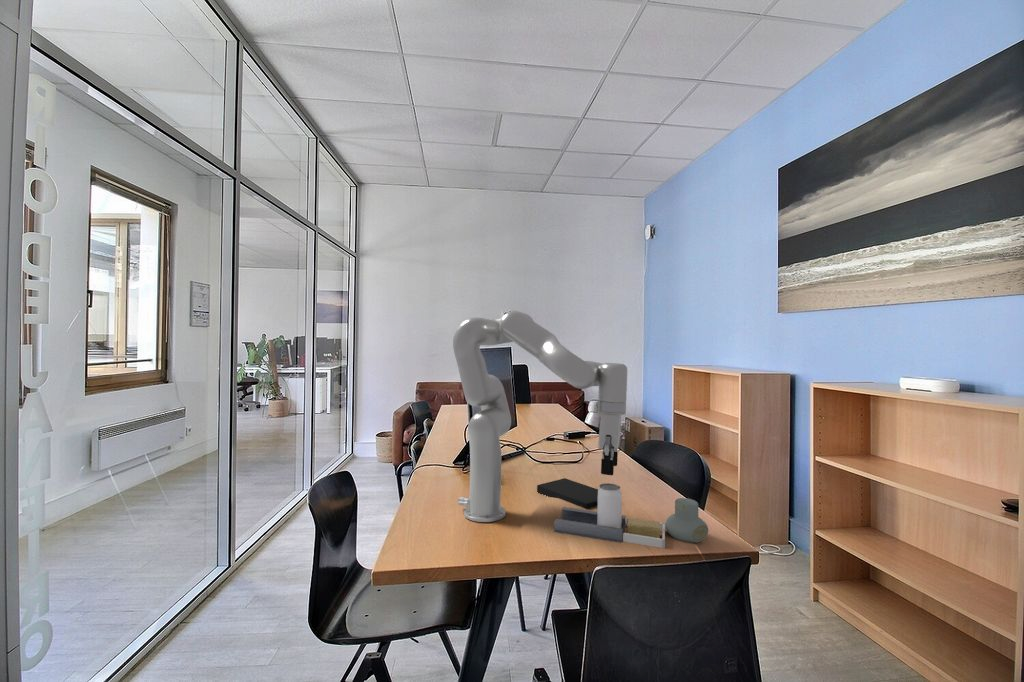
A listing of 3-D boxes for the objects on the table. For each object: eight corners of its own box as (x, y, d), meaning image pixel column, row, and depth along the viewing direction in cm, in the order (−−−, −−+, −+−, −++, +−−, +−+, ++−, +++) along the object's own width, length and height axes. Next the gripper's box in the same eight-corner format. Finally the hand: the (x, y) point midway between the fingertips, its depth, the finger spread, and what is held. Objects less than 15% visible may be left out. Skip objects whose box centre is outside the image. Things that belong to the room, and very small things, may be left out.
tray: (623, 545, 111) (623, 533, 111) (626, 528, 122) (626, 517, 122) (664, 552, 108) (664, 540, 108) (664, 534, 118) (664, 523, 118)
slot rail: (553, 535, 116) (553, 522, 116) (564, 517, 129) (564, 506, 129) (621, 546, 110) (621, 532, 110) (625, 527, 123) (625, 514, 123)
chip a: (627, 538, 114) (627, 523, 114) (628, 532, 118) (628, 517, 118) (643, 540, 113) (643, 525, 113) (643, 534, 117) (643, 519, 117)
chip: (643, 541, 113) (643, 525, 113) (643, 534, 117) (643, 520, 117) (659, 543, 112) (659, 527, 112) (659, 537, 115) (659, 522, 116)
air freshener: (685, 528, 122) (685, 493, 122) (712, 540, 115) (712, 502, 115) (660, 537, 116) (660, 500, 117) (687, 549, 109) (687, 510, 110)
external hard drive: (565, 486, 160) (565, 478, 160) (615, 504, 142) (615, 495, 142) (536, 493, 151) (537, 485, 151) (587, 513, 133) (587, 504, 133)
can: (606, 523, 122) (606, 481, 123) (626, 531, 118) (626, 487, 118) (592, 529, 118) (593, 486, 118) (612, 537, 113) (612, 492, 113)
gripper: (602, 403, 128) (599, 460, 128) (593, 410, 111) (590, 476, 111) (628, 405, 125) (625, 463, 125) (623, 413, 109) (620, 480, 109)
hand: (609, 469), depth 118 cm, fingers open, 9 cm apart
